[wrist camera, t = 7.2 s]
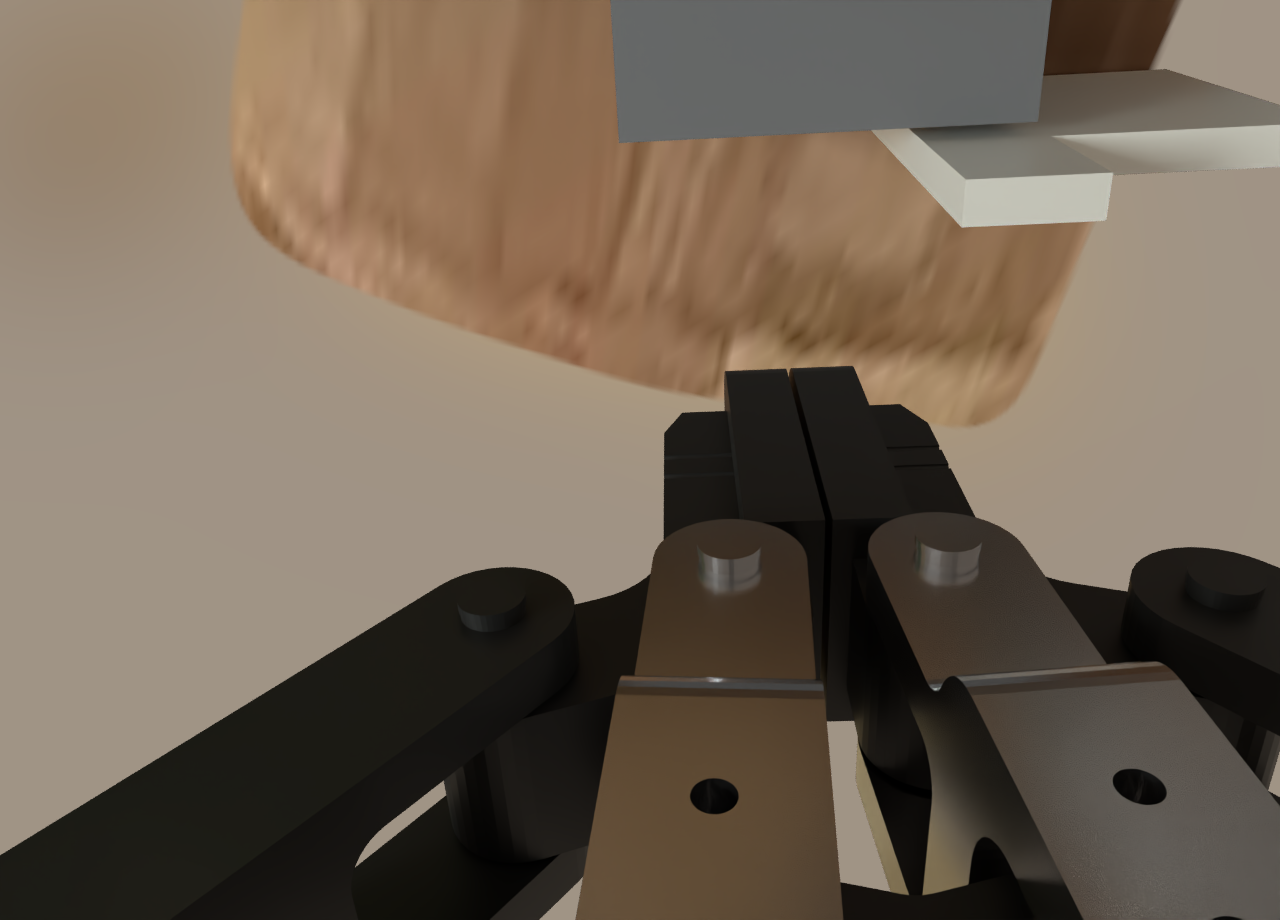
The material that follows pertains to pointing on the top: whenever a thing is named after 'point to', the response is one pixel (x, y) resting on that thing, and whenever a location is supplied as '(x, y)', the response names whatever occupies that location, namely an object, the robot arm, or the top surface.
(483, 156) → the top surface
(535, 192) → the top surface
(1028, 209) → the side door
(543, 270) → the top surface
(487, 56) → the top surface
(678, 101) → the camera housing
